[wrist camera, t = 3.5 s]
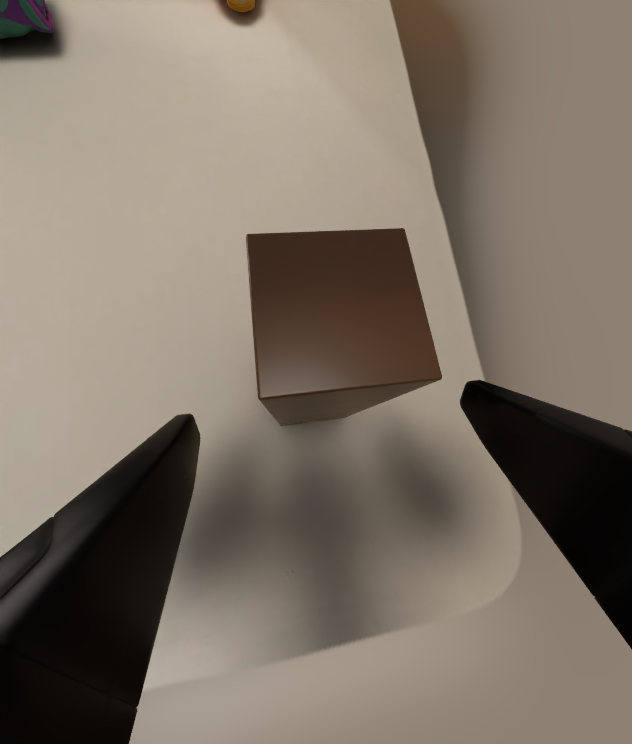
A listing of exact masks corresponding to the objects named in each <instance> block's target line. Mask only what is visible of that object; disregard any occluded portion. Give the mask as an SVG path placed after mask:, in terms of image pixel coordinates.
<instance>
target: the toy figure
mask: <svg viewBox="0 0 632 744" xmlns="http://www.w3.org/2000/svg"><path fill="white" fill-rule="evenodd" d="M227 3H228V6H229V7H230V8H232V9H233V10H235V11H239V12H246V11H250V10H252V9H253V8H255V0H227Z"/></svg>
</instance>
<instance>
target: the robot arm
mask: <svg viewBox="0 0 632 744" xmlns="http://www.w3.org/2000/svg"><path fill="white" fill-rule="evenodd" d="M460 405H461V408H462V410H463V411H464V413H465V415H466V417H467V418H468V420H469V422H470V423H471V425H472V427H473V428H474V430H475V432H476V433H477V435H478V437H479V439H480V440H481V442H482V443H483V445H484V446H485V448H486V449H487V451H488V452H489V453H490V455H491V456H492V458H493V459H494V460H495V462H496V463H497V464H498V466H499V467H500V469H501V470H502V471H503V473H504V474H505V475H506V477H507V478H508V480H509V481H510V482H511V484H512V485H513V486H514V488H515V489H516V491H517V492H518V493H519V495H520V496H521V497H522V499H523V500H524V502H525V503H526V504H527V506H528V507H529V508H530V510H531V511H532V512H533V514H534V515H535V517H536V518H537V519H538V521H539V522H540V523H541V525H542V526H543V528H544V529H545V530H546V532H547V533H548V534H549V536H550V537H551V539H552V540H553V541H554V543H555V544H556V545H557V547H558V548H559V549H560V551H561V552H562V554H563V555H564V556H565V558H566V559H567V560H568V562H569V563H570V564H571V566H572V567H573V569H574V570H575V572H576V573H577V574H578V576H579V577H580V578H581V580H582V581H583V582H584V584H585V585H586V587H587V588H588V589H589V591H590V592H591V593H592V595H593V596H595V599H596V601H597V602H598V604H599V605H600V606H601V608H602V609H603V610H604V612H605V613H606V615H607V616H608V617H609V619H610V620H611V621H612V623H613V624H614V626H615V627H616V628H617V629H618V631H619V632H620V634H621V635H622V636H623V638H624V639H625V641H626V642H627V643H628V645H629V646H630V647H631V649H632V431H629V430H623V429H622V428H620V427H617V426H614V425H611V424H608V423H605V422H602V421H599V420H596V419H593V418H590V417H587V416H585V415H581V414H579V413H575V412H573V411H570V410H567V409H564V408H560V407H558V406H555V405H552V404H549V403H546V402H543V401H540V400H537V399H534V398H532V397H529V396H526V395H523V394H519V393H517V392H514V391H511V390H508V389H505V388H502V387H499V386H496V385H493V384H490V383H487V382H485V381H481V380H475V381H469V382H467V383H466V385H465V387H464V390H463V393H462V396H461V399H460ZM199 447H200V433H199V430H198V427H197V424H196V422H195V419H194V417H193V415H192V414H182V415H177V416H175V417H174V418H173V419H172V420H170V421H169V422H168V423H167V424H165V425H164V426H163V427H162V428H160V429H159V430H158V431H157V432H155V433H154V434H153V435H152V436H151V437H149V438H148V439H147V440H146V441H144V442H143V443H142V444H141V445H139V446H138V447H137V448H136V449H135V450H133V451H132V452H131V453H130V454H128V455H127V456H126V457H125V458H123V459H122V460H121V461H120V462H118V463H117V464H116V465H115V466H114V467H112V468H111V469H110V470H109V471H107V472H106V473H105V474H104V475H102V476H101V477H100V478H99V479H98V480H96V481H95V482H94V483H93V484H91V485H90V486H89V487H88V488H86V489H85V490H84V491H83V492H81V493H80V494H79V495H78V496H77V497H75V498H74V499H73V500H72V501H70V502H69V503H68V504H67V505H65V506H64V507H63V508H62V509H60V510H59V511H58V512H57V513H56V514H55V515H54V517H51V518H49V519H48V520H47V521H46V522H44V523H43V524H42V525H41V526H39V527H38V528H37V529H36V530H34V531H33V532H32V533H31V534H29V535H28V536H27V537H26V538H24V539H23V540H22V541H21V542H19V543H18V544H17V545H16V546H14V547H13V548H12V549H10V550H9V551H8V552H7V553H5V554H4V555H3V556H2V557H0V744H129V741H130V736H131V733H132V729H133V725H134V721H135V717H136V713H137V708H136V707H137V706H138V704H139V701H140V697H141V693H142V689H143V685H144V681H145V677H146V673H147V669H148V666H149V662H150V658H151V654H152V650H153V646H154V642H155V638H156V634H157V630H158V626H159V623H160V619H161V615H162V611H163V607H164V603H165V599H166V595H167V591H168V587H169V584H170V580H171V576H172V572H173V568H174V564H175V560H176V556H177V552H178V548H179V545H180V541H181V537H182V533H183V529H184V525H185V521H186V517H187V513H188V509H189V506H190V502H191V498H192V494H193V489H194V483H195V477H196V469H197V462H198V454H199Z"/></svg>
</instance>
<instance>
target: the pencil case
mask: <svg viewBox="0 0 632 744" xmlns="http://www.w3.org/2000/svg"><path fill="white" fill-rule="evenodd" d="M34 29H36V30H38V31H40V32H43V33H53V32H54V28H53V24H52V19H51V15H50V13H49V11H48V8H47V6H46V5H45V2H44V0H0V39H2V38H8V37H16V36H23V35H25V34H26V33H28V32H30V31H32V30H34Z"/></svg>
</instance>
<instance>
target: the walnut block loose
mask: <svg viewBox="0 0 632 744" xmlns="http://www.w3.org/2000/svg"><path fill="white" fill-rule="evenodd" d="M246 244H247V258H248V271H249V284H250V297H251V311H252V324H253V337H254V350H255V363H256V377H257V390H258V398H259V400H260V401H261V402H262V403H263V405H264V406H265V407H266V408H267V409H268V411H269V412H270V413H271V414H272V415H273V417H274V418H275V419H276V420H277V421H278V423H279V424H280V425H281V426H282V425H290V424H297V423H305V422H313V421H321V420H329V419H337V418H345V417H347V416H350V415H352V414H355V413H357V412H360V411H362V410H365V409H367V408H370V407H372V406H375V405H378V404H380V403H383V402H385V401H388V400H390V399H393V398H395V397H398V396H400V395H403V394H405V393H408V392H410V391H413V390H416V389H418V388H421V387H423V386H426V385H428V384H431V383H433V382H436V381H438V380H440V379H442V375H441V371H440V367H439V363H438V359H437V355H436V351H435V347H434V343H433V339H432V335H431V331H430V327H429V323H428V320H427V316H426V312H425V308H424V304H423V300H422V296H421V292H420V288H419V284H418V280H417V276H416V272H415V268H414V264H413V260H412V256H411V252H410V248H409V244H408V240H407V237H406V233H405V229H403V228H400V229H372V230H345V231H318V232H290V233H263V234H247V236H246Z"/></svg>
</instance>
